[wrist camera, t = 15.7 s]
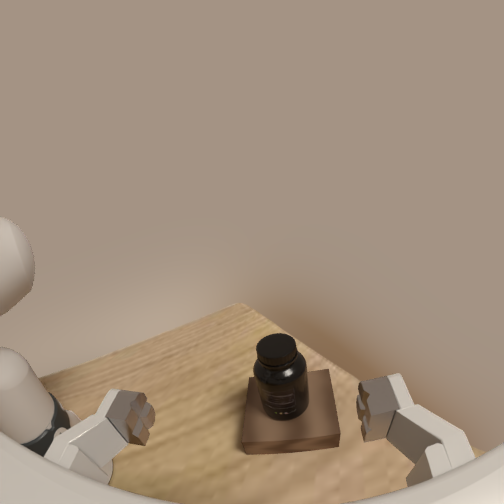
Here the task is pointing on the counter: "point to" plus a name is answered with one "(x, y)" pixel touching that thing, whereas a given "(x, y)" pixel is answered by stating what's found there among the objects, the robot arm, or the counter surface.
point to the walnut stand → (293, 421)
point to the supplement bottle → (281, 377)
